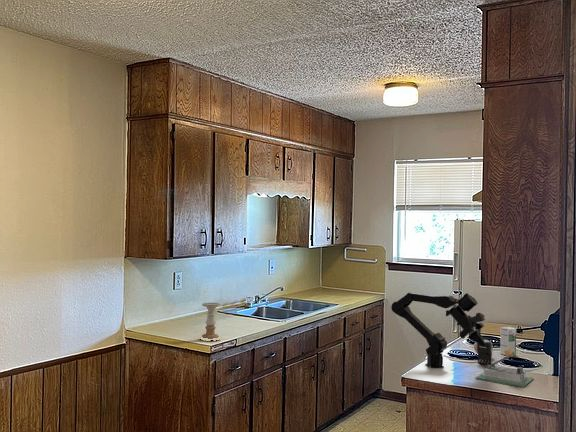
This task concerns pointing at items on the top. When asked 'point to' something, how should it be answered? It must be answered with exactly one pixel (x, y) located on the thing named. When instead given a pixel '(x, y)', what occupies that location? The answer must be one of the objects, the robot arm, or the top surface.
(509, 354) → the wood block
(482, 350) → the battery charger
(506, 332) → the syrup box
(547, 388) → the top surface
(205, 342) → the top surface
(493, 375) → the green railed baseplate
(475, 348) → the decorative fruit
